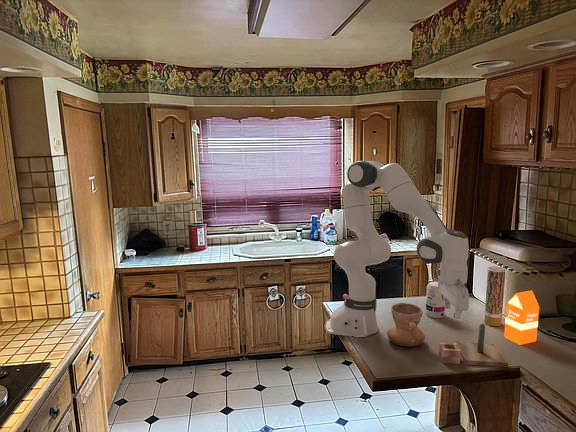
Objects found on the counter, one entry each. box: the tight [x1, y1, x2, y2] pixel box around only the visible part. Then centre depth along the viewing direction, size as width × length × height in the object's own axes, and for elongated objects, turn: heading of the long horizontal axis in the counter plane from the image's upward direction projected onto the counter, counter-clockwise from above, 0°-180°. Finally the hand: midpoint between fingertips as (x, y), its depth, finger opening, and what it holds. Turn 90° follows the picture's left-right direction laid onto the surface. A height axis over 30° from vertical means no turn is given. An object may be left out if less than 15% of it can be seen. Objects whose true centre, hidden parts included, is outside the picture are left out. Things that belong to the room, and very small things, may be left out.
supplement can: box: [425, 281, 446, 319], centre depth 194 cm, size 8×8×15 cm
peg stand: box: [455, 323, 508, 367], centre depth 157 cm, size 14×14×12 cm
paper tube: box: [483, 266, 506, 327], centre depth 183 cm, size 7×7×25 cm
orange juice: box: [503, 289, 540, 346], centre depth 169 cm, size 8×9×20 cm
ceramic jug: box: [386, 302, 426, 348], centre depth 169 cm, size 18×14×14 cm
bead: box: [438, 342, 461, 365], centre depth 155 cm, size 6×6×5 cm
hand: (452, 313), depth 152 cm, fingers open, 8 cm apart
